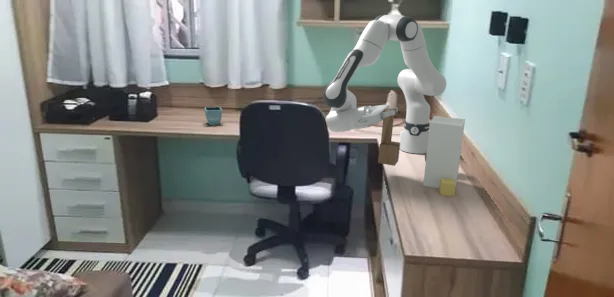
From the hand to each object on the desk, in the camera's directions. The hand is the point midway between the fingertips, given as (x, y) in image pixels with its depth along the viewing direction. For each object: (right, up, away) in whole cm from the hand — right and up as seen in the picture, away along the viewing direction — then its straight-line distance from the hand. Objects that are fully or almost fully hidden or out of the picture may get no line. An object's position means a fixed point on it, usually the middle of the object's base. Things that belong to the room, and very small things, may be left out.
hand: (395, 111), depth 200 cm
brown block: (-5, -10, +5) cm, 12 cm away
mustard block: (+18, -32, -9) cm, 38 cm away
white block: (+18, -29, +1) cm, 34 cm away
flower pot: (-88, -2, +80) cm, 119 cm away
